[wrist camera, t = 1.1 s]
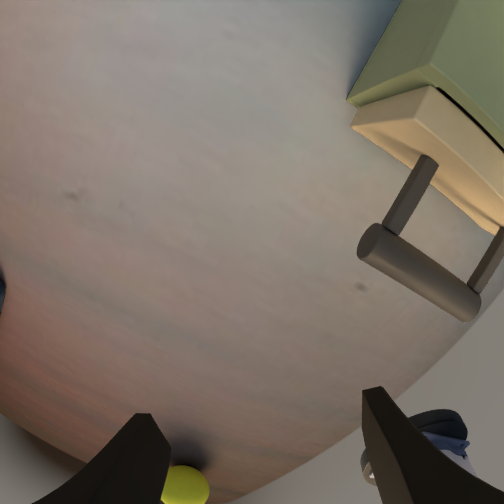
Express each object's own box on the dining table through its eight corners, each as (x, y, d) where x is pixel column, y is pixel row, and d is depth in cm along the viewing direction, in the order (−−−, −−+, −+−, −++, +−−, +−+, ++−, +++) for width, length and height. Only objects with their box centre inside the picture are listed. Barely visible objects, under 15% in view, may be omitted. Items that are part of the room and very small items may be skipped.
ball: (220, 467, 23) (214, 509, 19) (201, 485, 24) (194, 522, 20) (171, 449, 23) (159, 492, 18) (157, 469, 24) (146, 506, 20)
